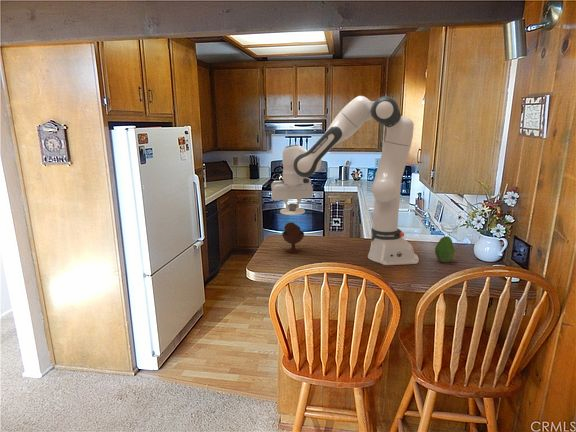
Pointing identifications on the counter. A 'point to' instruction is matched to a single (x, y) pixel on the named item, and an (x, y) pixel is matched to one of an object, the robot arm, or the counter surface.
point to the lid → (292, 210)
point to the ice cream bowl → (292, 235)
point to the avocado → (444, 249)
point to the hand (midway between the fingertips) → (292, 208)
